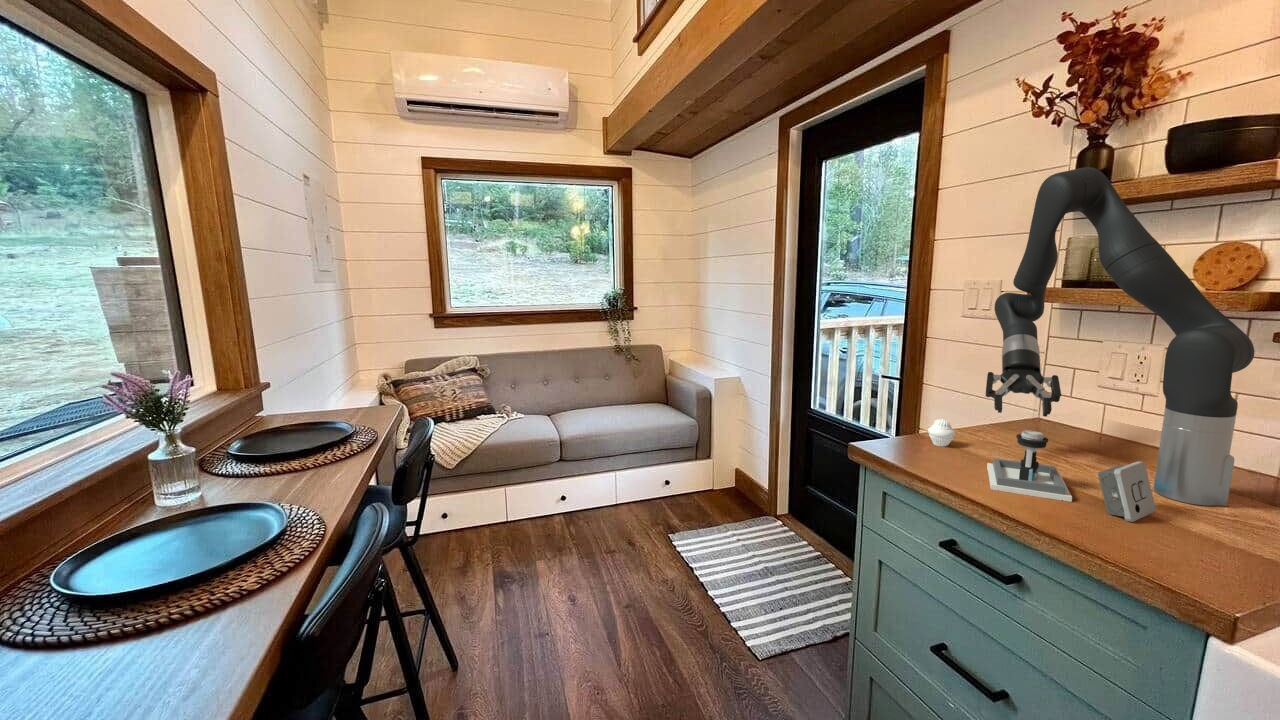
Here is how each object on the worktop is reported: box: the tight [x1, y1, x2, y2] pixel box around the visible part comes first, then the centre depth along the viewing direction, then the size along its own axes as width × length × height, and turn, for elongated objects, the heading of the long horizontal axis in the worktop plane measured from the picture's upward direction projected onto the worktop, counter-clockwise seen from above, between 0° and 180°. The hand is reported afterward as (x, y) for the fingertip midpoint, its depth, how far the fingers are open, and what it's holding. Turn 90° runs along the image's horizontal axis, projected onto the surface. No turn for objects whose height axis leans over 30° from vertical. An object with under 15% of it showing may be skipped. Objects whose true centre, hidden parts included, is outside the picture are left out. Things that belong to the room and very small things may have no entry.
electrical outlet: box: [1097, 461, 1157, 523], centre depth 95 cm, size 9×5×9 cm, turn 116°
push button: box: [1016, 430, 1049, 481], centre depth 109 cm, size 7×5×10 cm
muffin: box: [927, 418, 956, 447], centre depth 133 cm, size 6×6×7 cm
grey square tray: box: [986, 457, 1073, 503], centre depth 109 cm, size 13×14×2 cm
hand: (1022, 412), depth 119 cm, fingers open, 8 cm apart
